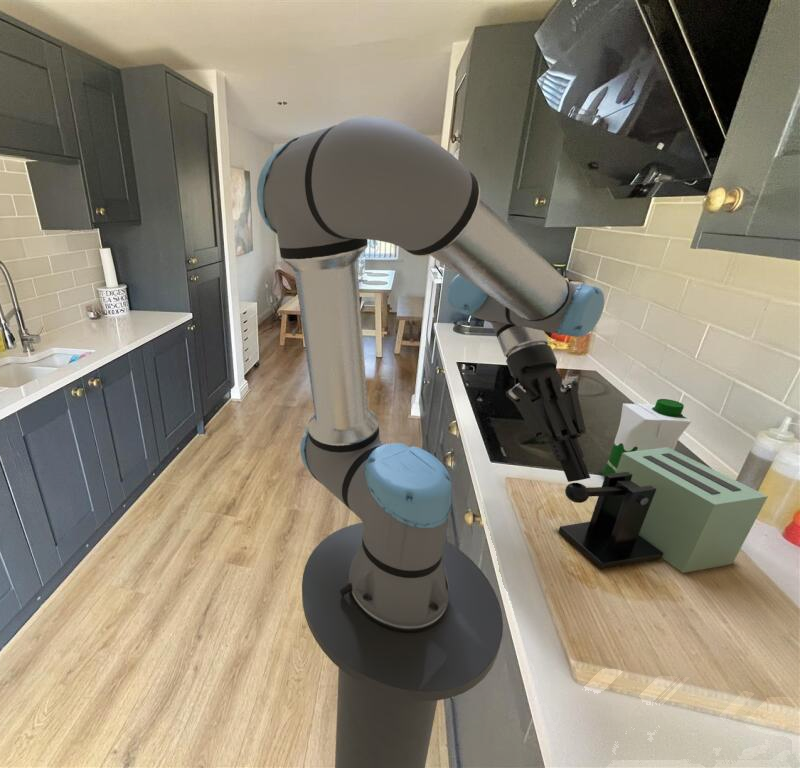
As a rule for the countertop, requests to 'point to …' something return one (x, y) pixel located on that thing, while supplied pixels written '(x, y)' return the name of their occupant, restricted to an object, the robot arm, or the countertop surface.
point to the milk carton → (647, 429)
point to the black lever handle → (597, 491)
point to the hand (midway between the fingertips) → (579, 479)
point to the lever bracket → (615, 528)
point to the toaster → (692, 508)
